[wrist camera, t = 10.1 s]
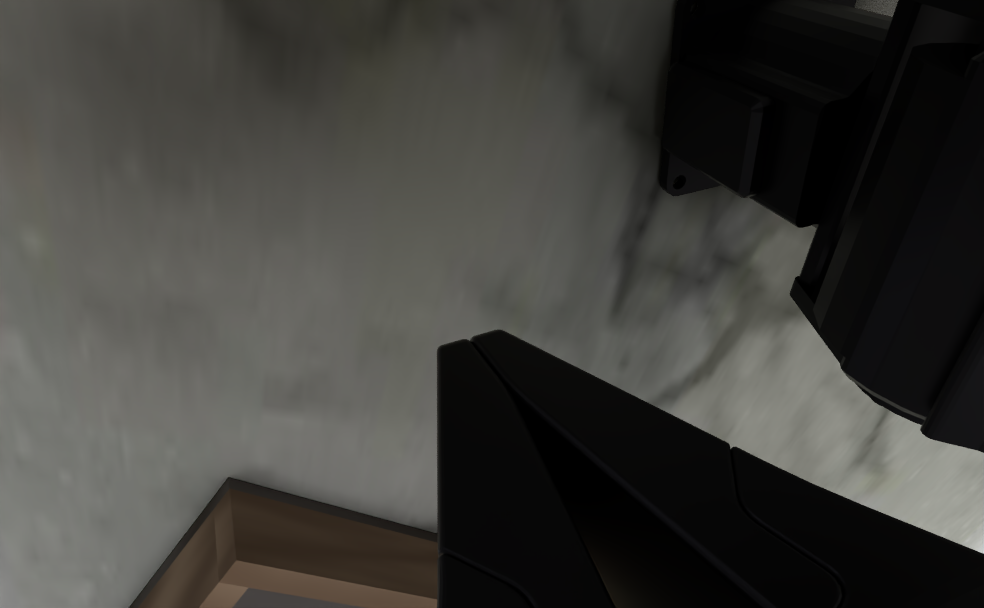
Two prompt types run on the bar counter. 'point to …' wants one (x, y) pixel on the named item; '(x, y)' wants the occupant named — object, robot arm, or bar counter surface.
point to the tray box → (293, 557)
